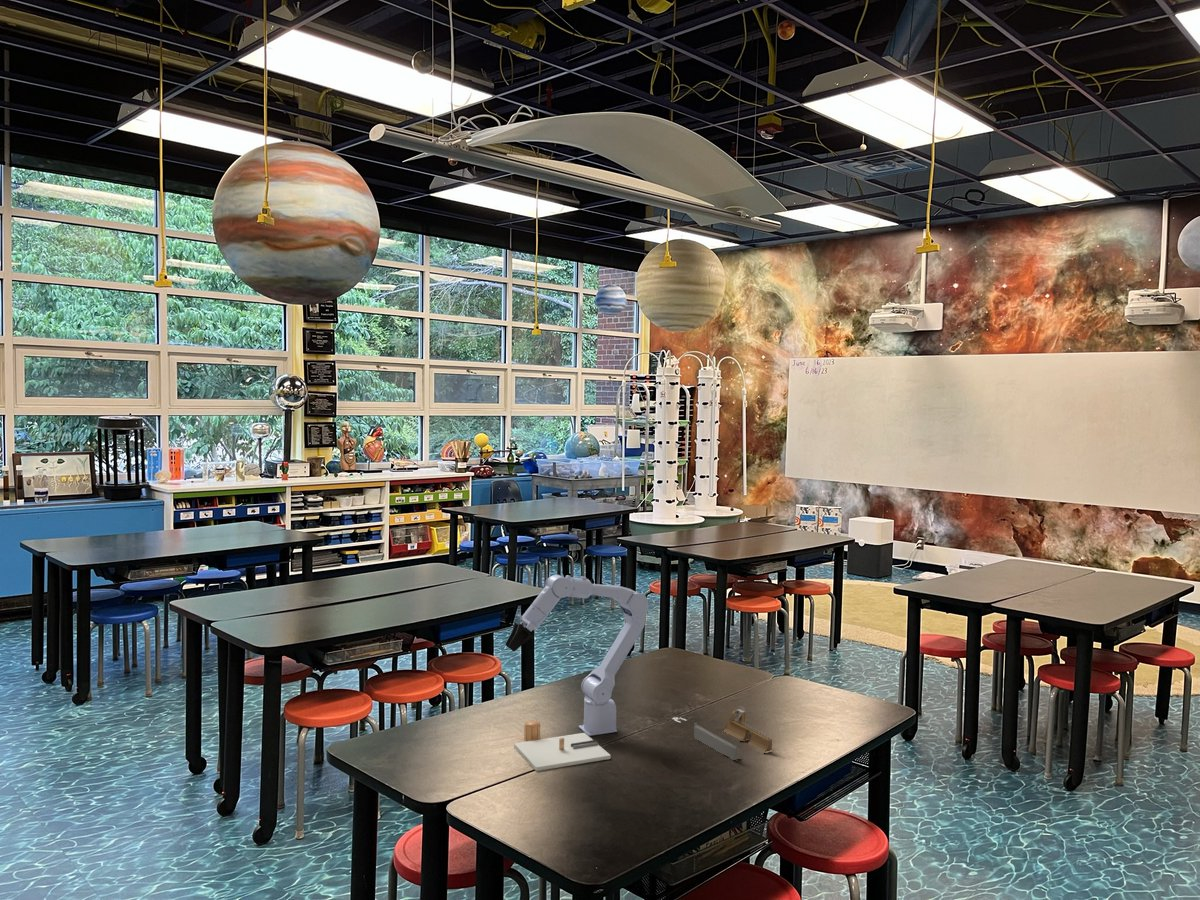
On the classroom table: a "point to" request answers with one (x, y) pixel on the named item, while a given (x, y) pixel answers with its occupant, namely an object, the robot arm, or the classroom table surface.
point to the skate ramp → (736, 730)
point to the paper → (678, 719)
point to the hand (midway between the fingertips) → (509, 648)
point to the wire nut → (532, 730)
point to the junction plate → (561, 751)
